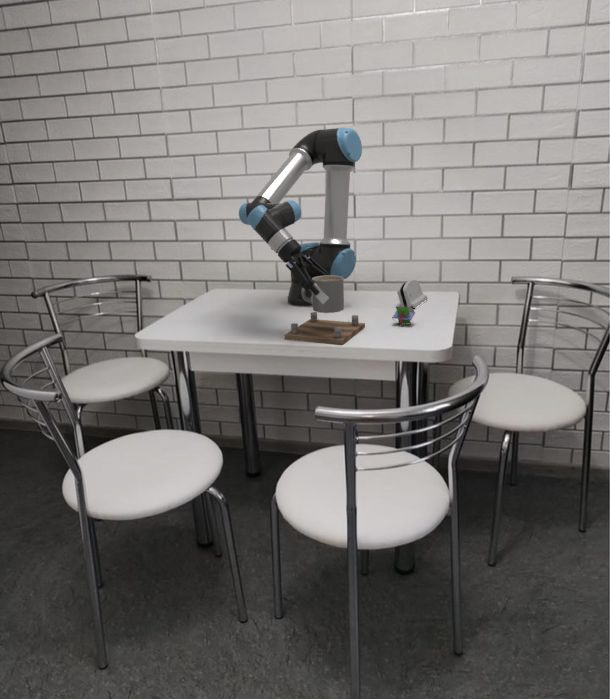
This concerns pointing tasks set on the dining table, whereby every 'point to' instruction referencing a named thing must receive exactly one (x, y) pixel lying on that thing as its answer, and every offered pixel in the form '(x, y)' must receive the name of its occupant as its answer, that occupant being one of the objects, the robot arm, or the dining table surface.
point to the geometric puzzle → (404, 314)
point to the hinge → (411, 294)
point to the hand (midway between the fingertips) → (332, 297)
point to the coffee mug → (332, 289)
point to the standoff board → (325, 330)
